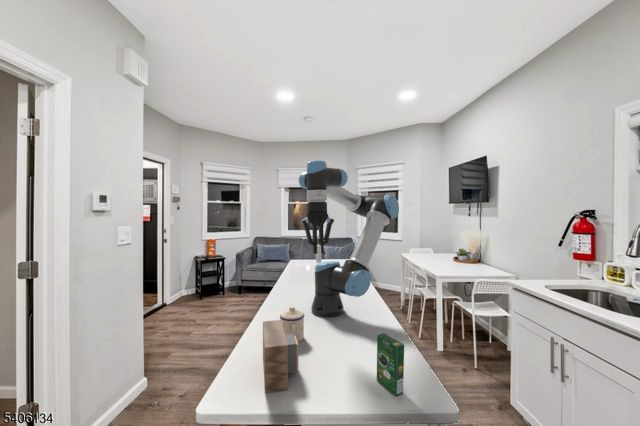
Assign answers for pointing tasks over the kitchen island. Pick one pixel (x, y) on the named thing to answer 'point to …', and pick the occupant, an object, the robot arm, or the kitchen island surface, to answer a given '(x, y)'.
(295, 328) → the teacup with lid
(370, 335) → the kitchen island surface
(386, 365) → the coffee box
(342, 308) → the robot arm
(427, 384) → the kitchen island surface
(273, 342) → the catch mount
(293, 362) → the gray housing block
